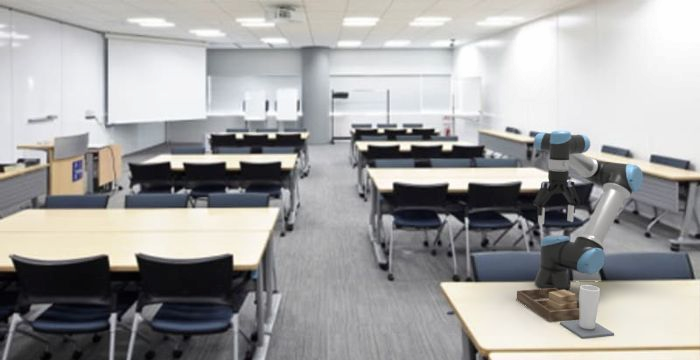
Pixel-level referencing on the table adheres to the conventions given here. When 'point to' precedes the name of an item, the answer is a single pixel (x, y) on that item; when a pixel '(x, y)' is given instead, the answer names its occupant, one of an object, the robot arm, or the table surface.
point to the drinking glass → (588, 306)
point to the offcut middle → (556, 306)
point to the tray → (539, 305)
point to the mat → (586, 330)
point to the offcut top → (562, 297)
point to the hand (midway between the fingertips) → (555, 222)
